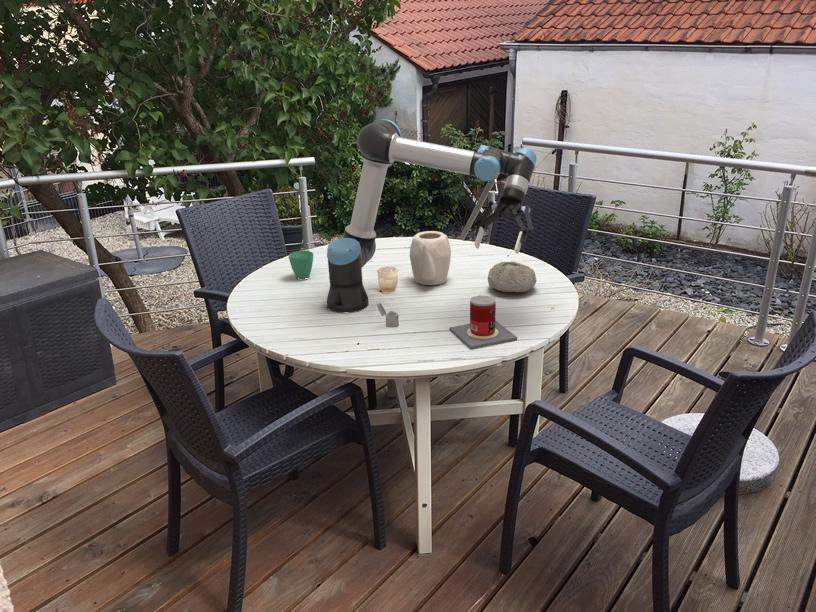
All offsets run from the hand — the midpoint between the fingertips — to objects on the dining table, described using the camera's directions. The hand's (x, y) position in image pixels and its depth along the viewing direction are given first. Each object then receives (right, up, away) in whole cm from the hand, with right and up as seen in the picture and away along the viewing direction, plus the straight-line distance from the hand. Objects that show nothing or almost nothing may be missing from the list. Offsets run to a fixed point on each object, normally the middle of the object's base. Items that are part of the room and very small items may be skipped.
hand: (496, 249), depth 218 cm
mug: (-70, -6, +61) cm, 93 cm away
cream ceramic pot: (-19, -9, +48) cm, 53 cm away
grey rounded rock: (+11, -12, +38) cm, 41 cm away
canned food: (-4, -27, 0) cm, 27 cm away
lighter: (-35, -25, +10) cm, 44 cm away
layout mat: (-4, -27, +1) cm, 28 cm away
